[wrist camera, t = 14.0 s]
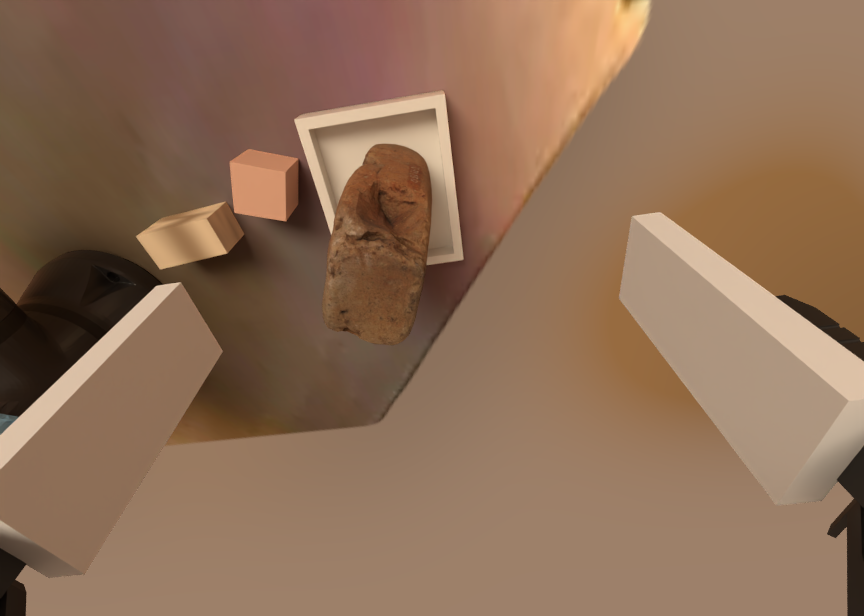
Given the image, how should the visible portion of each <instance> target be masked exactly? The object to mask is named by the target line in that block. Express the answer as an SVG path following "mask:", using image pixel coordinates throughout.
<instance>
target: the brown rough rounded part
mask: <svg viewBox="0 0 864 616" xmlns="http://www.w3.org/2000/svg"><path fill="white" fill-rule="evenodd" d="M431 215H432V187H431V179H430V173H429V169H428V166H427V163H426V161H425V159H424V158H423V157H422V156H421V155H420V154H419V153H417V152H416V151H414V150H412V149H410V148H408V147H405V146H401V145H397V144H376V145H374V146H372V147H371V148H370V149H369V151H368V152H367V154H366V155H365V159H364V161H363V165H362V166H360V167H359V168H358V169H357V170H355V171H354V173H353V174H352V176H351V177H350V178H349V179H348V181H347V183H346V185H345V187H344V190H343V193H342V195H341V197H340V200H339V203H338V206H337V210H336V214H335V218H334V225H333V231H332V235H331V238H330V242H329V247H328V255H327V273H326V282H325V287H324V293H323V302H322V311H323V319H324V322H325V324H326V325H327V327H328V328H330V329H332V330H334V331H337V332H339V331H348V332H350V333H352V334H355V335H357V336H359V338H360V339H363V340H365V341H368V342H371V343H374V344H386V345H395V344H398V343H400V342H402V341H403V340H404V339H405V338H406V337H407V336H408V335H409V334H410V332H411V329H412V327H413V324H414V321H415V318H416V313H417V308H418V304H419V300H420V296H421V292H422V288H423V283H424V277H425V273H426V265H427V255H428V246H429V239H430V229H431Z"/></svg>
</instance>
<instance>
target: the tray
mask: <svg viewBox="0 0 864 616" xmlns="http://www.w3.org/2000/svg"><path fill="white" fill-rule="evenodd" d="M294 121H295V124H296V127H297V130H298V133H299V136H300V139H301V142H302V145H303V149H304V152H305V155H306V158H307V161H308V164H309V167H310V170H311V173H312V177H313V180H314V183H315V186H316V189H317V192H318V195H319V198H320V201H321V205H322V208H323V211H324V214H325V217H326V220H327V223H328V226H329V229H330V233H331V235H332V231H333V225H334V218H335V214H336V210H337V206H338V203H339V200H340V197H341V195H342V193H343V190H344V187H345V185H346V183H347V181H348V179H349V178H350V177H351V176H352V174H353V173H354V171H355V170H357V169H358V168H359V167H360V166H362V165H363V161H364V159H365V155H366V154H367V152H368V151H369V149H370V148H371V147H372V146H374V145H376V144H397V145H401V146H405V147H408V148H410V149H412V150H414V151H416V152H417V153H419V154H420V155H421V156H422V157H423V158H424V159H425V161H426V163H427V166H428V169H429V173H430V179H431V187H432V215H431V229H430V239H429V246H428V255H427V265H432V264H439V263H446V262H453V261H460V260H464V258H463V249H462V240H461V232H460V223H459V214H458V205H457V197H456V188H455V179H454V170H453V162H452V153H451V144H450V135H449V126H448V118H447V109H446V100H445V93H444V91H443V90H440V91H434V92H428V93H423V94H417V95H411V96H405V97H399V98H394V99H388V100H382V101H376V102H370V103H365V104H359V105H353V106H347V107H341V108H335V109H330V110H324V111H318V112H312V113H306V114H302V115H300V116H299V117H297V118H296V119H294Z"/></svg>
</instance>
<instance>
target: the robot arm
mask: <svg viewBox="0 0 864 616" xmlns="http://www.w3.org/2000/svg"><path fill="white" fill-rule="evenodd" d="M619 299H620V300H621V302H622V303H623V304H624V306H625V307H626V308H627V309H628V311H629V312H630V313H631V315H632V316H633V317H634V319H635V320H636V321H637V323H638V324H639V325H640V327H641V328H642V329H643V331H644V332H645V333H646V335H647V336H648V337H649V338H650V340H651V341H652V342H653V344H654V345H655V346H656V348H657V349H658V350H659V352H660V353H661V354H662V356H663V357H664V358H665V360H666V361H667V362H668V363H669V365H670V366H671V367H672V369H673V370H674V371H675V373H676V374H677V375H678V377H679V378H680V379H681V380H682V382H683V383H684V385H685V386H686V387H687V388H688V390H689V391H690V392H691V394H692V395H693V396H694V398H695V399H696V400H697V402H698V403H699V404H700V405H701V407H702V408H703V409H704V411H705V412H706V413H707V415H708V416H709V417H710V419H711V420H712V421H713V423H714V424H715V425H716V427H717V428H718V429H719V431H720V432H721V433H722V434H723V436H724V437H725V438H726V440H727V441H728V442H729V444H730V445H731V446H732V448H733V449H734V450H735V452H736V453H737V454H738V456H739V457H740V458H741V460H742V461H743V462H744V463H745V465H746V466H747V467H748V469H749V470H750V471H751V473H752V474H753V475H754V477H755V478H756V479H757V480H758V482H759V483H760V484H761V486H762V487H763V488H764V490H765V491H766V492H767V494H768V495H769V496H770V498H771V499H772V500H773V502H774V503H775V504H776V505H786V504H796V503H806V502H816V501H822V500H823V499H824V498H825V496H826V495H827V494H828V493H829V491H830V490H831V489H832V488H833V486H834V485H835V484H836V483H837V482H839V483H840V484H841V485H842V486H843V487H844V488H845V489H846V490H847V491H848V492H849V493H850V494H851V495H852V497H853V498H854V499H853V500H852V502H851V503H850V504H849V505H848V506H847V507H846V508H845V509H844V511H843V512H842V513H841V514H840V515H839V516H838V517H837V518H836V520H835V521H834V522H833V523H832V524H831V526H830V528H829V531H828V533H827V534H828V535H830V536H832V537H835V538H836V537H837V536H838V535H839V534H840V533H841V532H842V531H843V530H844V528H846V527H847V594H848V595H847V596H848V597H847V602H848V603H847V604H848V616H864V342H860V340H859V339H860V338H859V337H857V336H856V335H854V334H853V333H852V332H850V331H849V330H847V329H846V328H840V327H839V324H838V323H837V322H836V321H834V320H833V319H831V318H829V317H828V316H827V315H825V314H824V313H822V312H821V311H820V310H818V309H817V308H815V307H813V306H810V305H808V304H805V303H803V302H800V301H798V300H796V299H793V298H791V297H789V296H786V295H782V296H774V295H772V294H771V293H770V292H768V291H767V290H766V289H764V288H763V287H762V286H760V285H759V284H757V283H756V282H755V281H753V280H752V279H751V278H749V277H748V276H747V275H745V274H744V273H742V272H741V271H740V270H738V269H737V268H736V267H734V266H733V265H732V264H730V263H729V262H727V261H726V260H725V259H723V258H722V257H721V256H719V255H718V254H717V253H715V252H714V251H712V250H711V249H710V248H708V247H707V246H706V245H704V244H703V243H702V242H700V241H699V240H697V239H696V238H695V237H693V236H692V235H691V234H689V233H688V232H687V231H685V230H684V229H682V228H681V227H680V226H678V225H677V224H676V223H674V222H673V221H672V220H670V219H669V218H668V217H666V216H665V215H663V214H662V213H661V212H658V213H651V214H644V215H638V216H632V218H631V225H630V231H629V237H628V244H627V251H626V257H625V263H624V270H623V276H622V283H621V289H620V295H619ZM222 352H223V351H222V349H221V347H220V346H219V344H218V343H217V341H216V339H215V338H214V336H213V334H212V333H211V331H210V329H209V328H208V326H207V324H206V323H205V321H204V319H203V318H202V316H201V315H200V313H199V311H198V310H197V308H196V306H195V305H194V303H193V301H192V300H191V298H190V296H189V295H188V293H187V291H186V290H185V288H184V287H183V285H182V283H181V282H179V283H172V284H166V285H161V284H160V283H159V282H158V281H157V280H156V279H155V278H154V277H153V276H152V275H150V274H149V273H148V272H146V271H145V270H144V269H142V268H141V267H139V266H137V265H135V264H134V263H132V262H130V261H128V260H125V259H123V258H121V257H118V256H115V255H112V254H108V253H104V252H99V251H91V250H79V251H72V252H68V253H65V254H62V255H60V256H59V257H57V258H55V259H54V260H52V261H51V262H49V263H47V264H46V265H44V266H43V267H42V268H41V269H40V270H39V271H38V272H37V273H36V275H35V276H34V278H33V279H32V281H31V282H30V284H29V285H28V287H27V289H26V290H25V292H24V293H23V295H22V296H21V298H20V300H19V301H18V303H17V304H15V302H14V301H13V300H12V299H11V298H10V297H9V296H8V295H7V294H6V293H5V292H4V291H3V290H2V289H1V288H0V616H26V590H25V587H24V584H22V583H20V582H18V581H16V580H15V579H16V578H17V576H18V575H19V573H20V572H21V570H22V569H23V568H24V566H25V565H28V566H29V567H31V568H33V569H34V570H36V571H38V572H40V573H41V574H43V575H45V576H46V577H48V578H52V577H61V576H71V575H82V574H85V573H86V571H87V570H88V568H89V566H90V565H91V563H92V562H93V560H94V558H95V557H96V555H97V554H98V552H99V550H100V549H101V547H102V545H103V544H104V542H105V541H106V539H107V537H108V536H109V534H110V532H111V531H112V529H113V528H114V526H115V524H116V523H117V521H118V520H119V518H120V516H121V515H122V513H123V511H124V510H125V508H126V507H127V505H128V504H129V502H130V500H131V499H132V497H133V495H134V494H135V492H136V491H137V489H138V487H139V486H140V484H141V483H142V481H143V479H144V478H145V476H146V474H147V473H148V471H149V470H150V468H151V466H152V465H153V463H154V462H155V460H156V458H157V457H158V455H159V453H160V452H161V450H162V449H163V447H164V445H165V444H166V442H167V441H168V439H169V437H170V436H171V434H172V433H173V431H174V429H175V428H176V426H177V424H178V423H179V421H180V420H181V418H182V416H183V415H184V413H185V412H186V410H187V408H188V407H189V405H190V404H191V402H192V400H193V399H194V397H195V395H196V394H197V392H198V391H199V389H200V387H201V386H202V384H203V383H204V381H205V379H206V378H207V376H208V375H209V373H210V371H211V370H212V368H213V366H214V365H215V363H216V362H217V360H218V358H219V357H220V355H221V354H222Z"/></svg>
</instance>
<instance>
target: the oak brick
mask: <svg viewBox="0 0 864 616" xmlns="http://www.w3.org/2000/svg"><path fill="white" fill-rule="evenodd" d="M243 235H244V232H243V231H242V229H241V227H240V225H239V223H238V222H237V220H236V218H235V216H234V214H233V213H232V211H231V209H230V207H229V206H228V204H227V202H223V203H219V204H215V205H211V206H207V207H203V208H199V209H195V210H192V211H188V212H184V213H180V214H176V215H172V216H168V217H164V218H161V219H160V220H158V221H157V222H156V223H154V224H153V225H151V226H150V227H149V228H147V229H146V230H144V231H143V232H142V233H140V234H139V235H137V236H136V237H137V239H138V240H139V241H140V243H141V244H142V245H143V247H144V248H145V249H146V251H147V252H148V254H149V255H150V256H151V258H152V259H153V260H154V262H155V263H156V264H157V266H158V267H159V269H164V268H168V267H173V266H177V265H181V264H185V263H189V262H194V261H198V260H202V259H206V258H210V257H214V256H219V255H223V254H227V253H228V252H229V251H230V250H231V249H232V248H233V247H234V245H235V244H236V243H237V242H238V241H239V240H240V239H241V237H242V236H243Z"/></svg>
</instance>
